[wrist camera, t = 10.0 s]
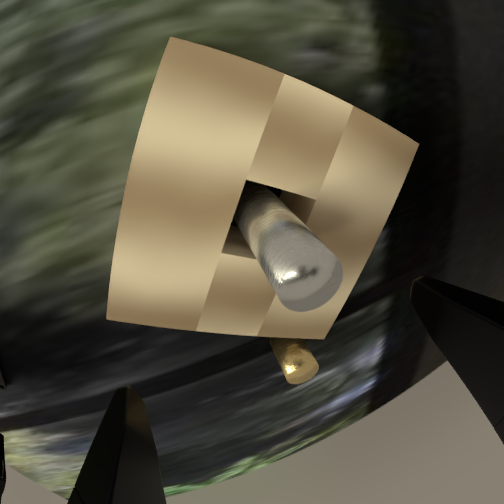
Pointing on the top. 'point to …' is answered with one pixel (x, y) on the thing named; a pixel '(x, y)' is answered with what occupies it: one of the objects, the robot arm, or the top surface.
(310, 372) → the short brass pin
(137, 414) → the robot arm
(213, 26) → the top surface
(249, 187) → the long steel pin
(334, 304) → the birch hole block
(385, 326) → the top surface
